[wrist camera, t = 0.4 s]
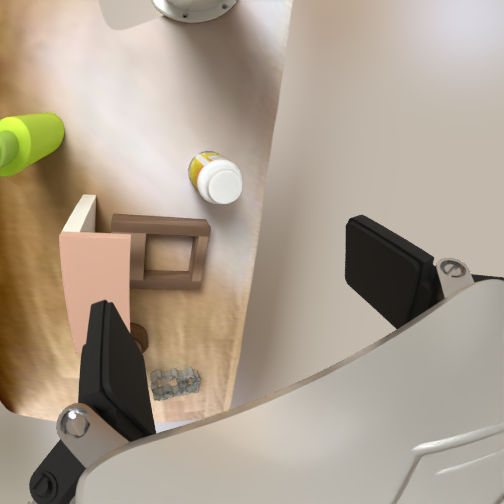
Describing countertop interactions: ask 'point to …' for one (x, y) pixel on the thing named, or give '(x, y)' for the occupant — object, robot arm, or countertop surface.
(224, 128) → the countertop surface
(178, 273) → the socket block
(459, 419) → the robot arm
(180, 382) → the egg carton
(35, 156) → the soap dispenser
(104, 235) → the pink-topped white panel
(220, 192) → the supplement bottle
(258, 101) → the countertop surface
